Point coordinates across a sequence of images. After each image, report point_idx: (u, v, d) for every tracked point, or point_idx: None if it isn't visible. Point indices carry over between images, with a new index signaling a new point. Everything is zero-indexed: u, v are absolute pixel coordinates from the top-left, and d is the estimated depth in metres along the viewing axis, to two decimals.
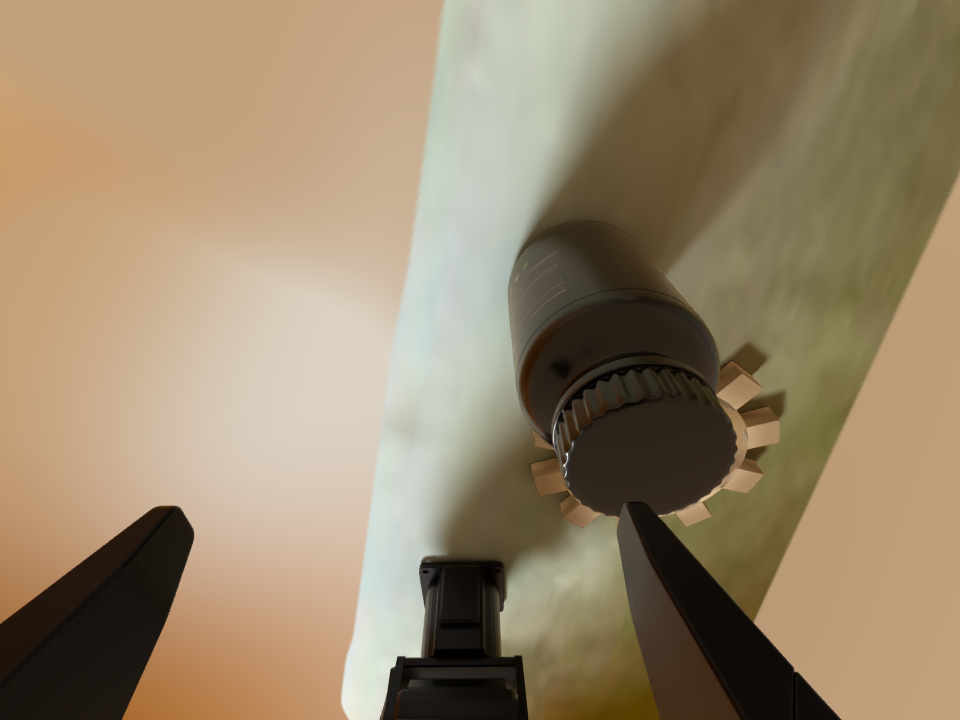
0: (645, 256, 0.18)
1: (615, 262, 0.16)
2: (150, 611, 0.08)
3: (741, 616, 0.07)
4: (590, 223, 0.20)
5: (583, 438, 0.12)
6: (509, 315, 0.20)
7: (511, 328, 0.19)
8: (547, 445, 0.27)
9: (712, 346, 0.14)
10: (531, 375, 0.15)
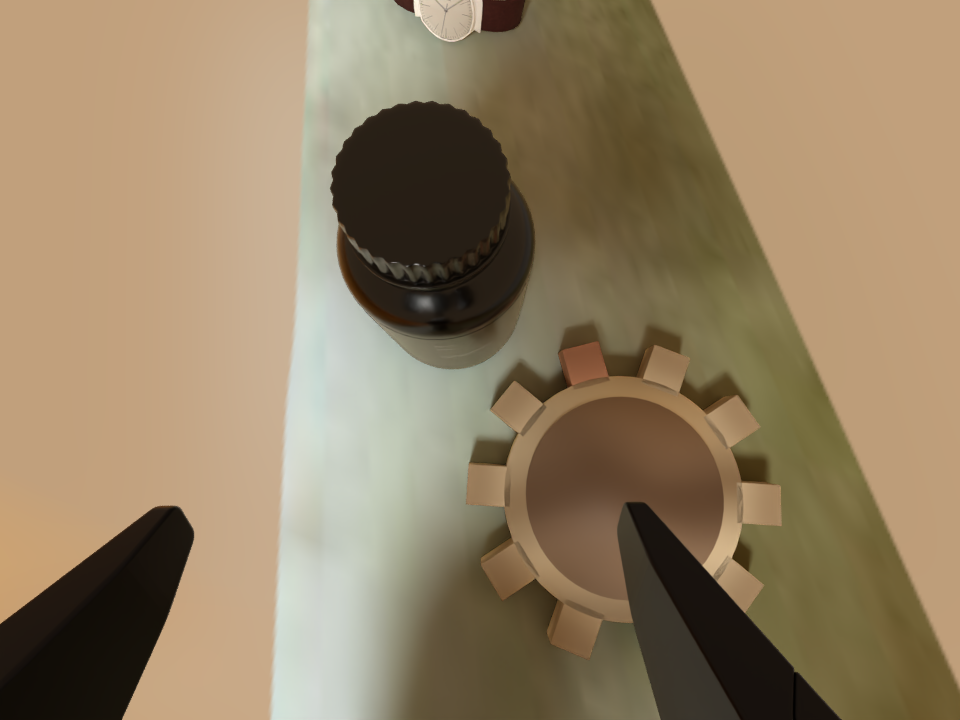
0: None
1: None
2: (150, 611, 0.08)
3: (741, 616, 0.07)
4: None
5: (341, 164, 0.12)
6: None
7: None
8: (481, 500, 0.21)
9: None
10: (339, 230, 0.15)
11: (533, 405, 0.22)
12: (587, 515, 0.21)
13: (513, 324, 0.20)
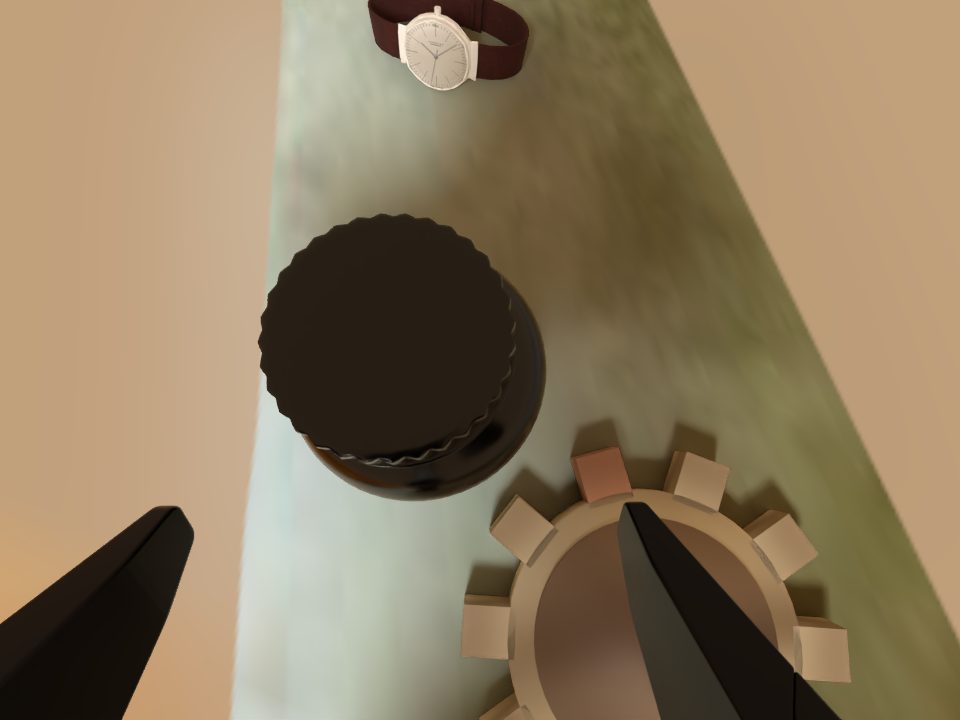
0: None
1: None
2: (150, 611, 0.08)
3: (741, 616, 0.07)
4: None
5: (274, 306, 0.08)
6: None
7: None
8: (479, 651, 0.17)
9: (495, 271, 0.12)
10: None
11: (542, 528, 0.18)
12: (610, 672, 0.17)
13: None
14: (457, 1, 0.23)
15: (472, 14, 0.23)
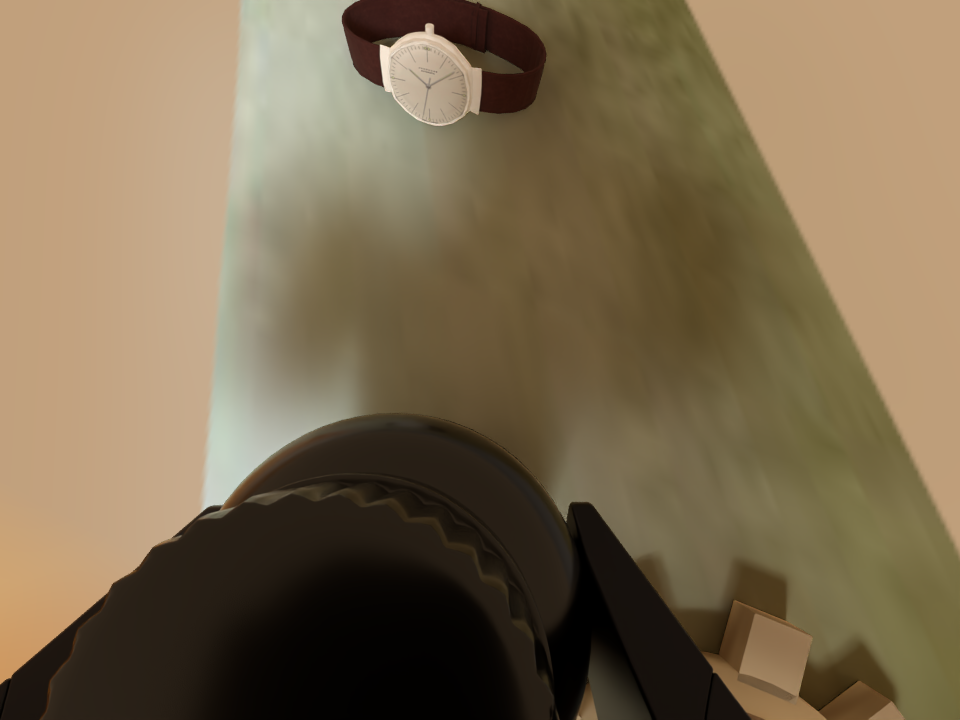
0: None
1: None
2: None
3: (668, 617, 0.07)
4: None
5: (58, 714, 0.04)
6: None
7: None
8: None
9: (511, 470, 0.07)
10: None
11: None
12: None
13: None
14: (455, 13, 0.18)
15: (474, 29, 0.18)
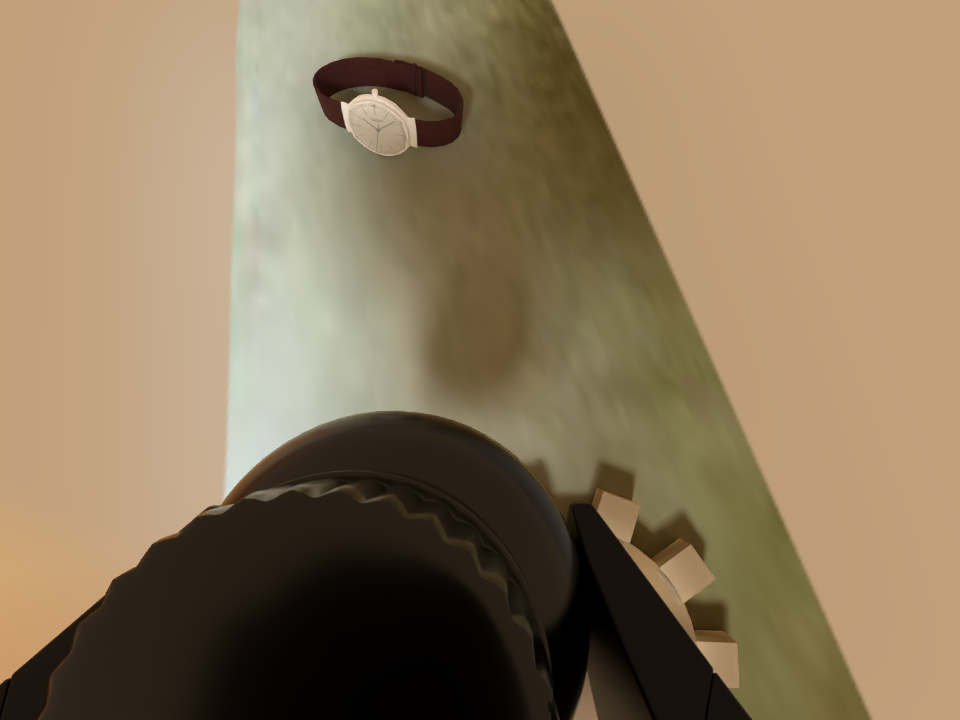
0: None
1: None
2: None
3: (668, 617, 0.07)
4: None
5: (59, 709, 0.04)
6: None
7: None
8: None
9: (510, 468, 0.07)
10: None
11: None
12: None
13: None
14: (398, 71, 0.24)
15: (413, 82, 0.24)
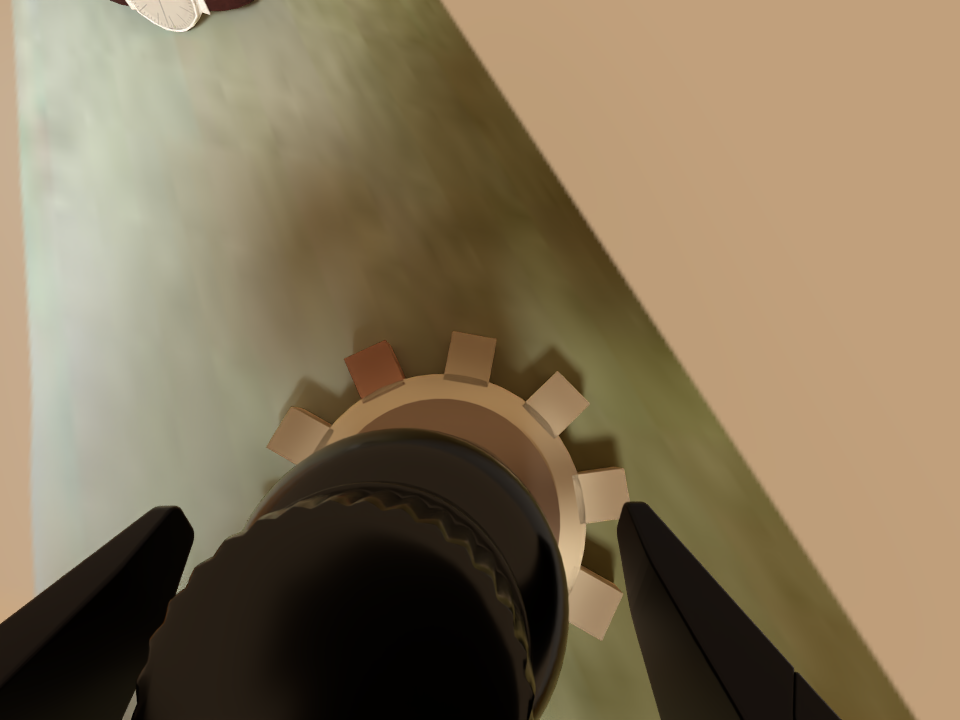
0: None
1: None
2: (150, 611, 0.08)
3: (741, 616, 0.07)
4: None
5: (157, 664, 0.05)
6: None
7: None
8: None
9: (501, 478, 0.09)
10: None
11: (317, 432, 0.18)
12: None
13: None
14: None
15: None
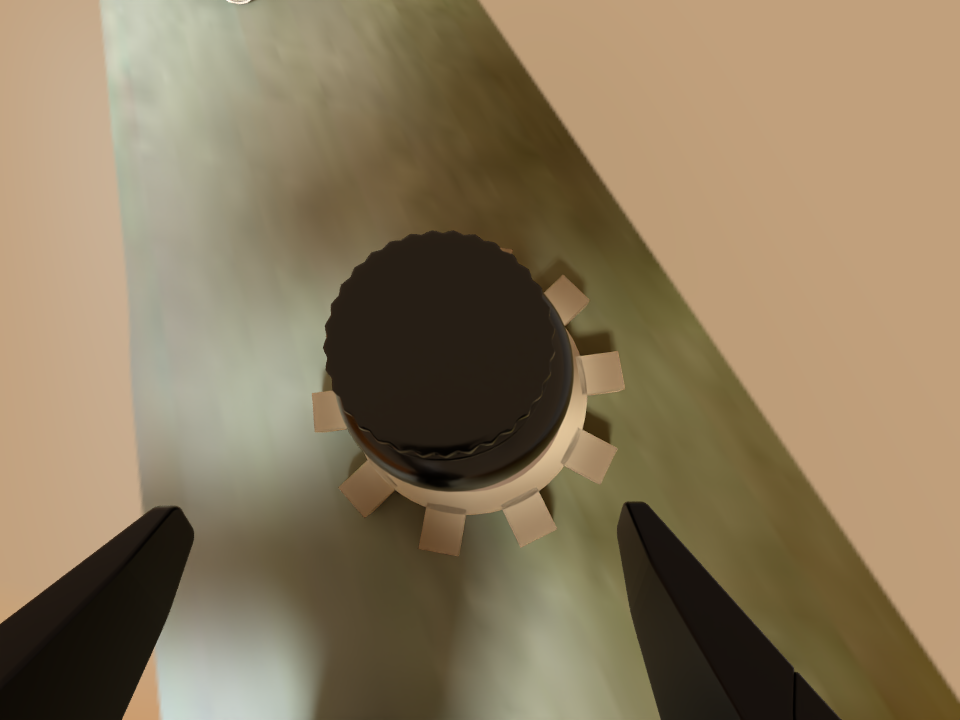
0: None
1: None
2: (150, 611, 0.08)
3: (741, 616, 0.07)
4: None
5: (337, 315, 0.09)
6: None
7: None
8: (329, 425, 0.21)
9: None
10: None
11: None
12: None
13: None
14: None
15: None
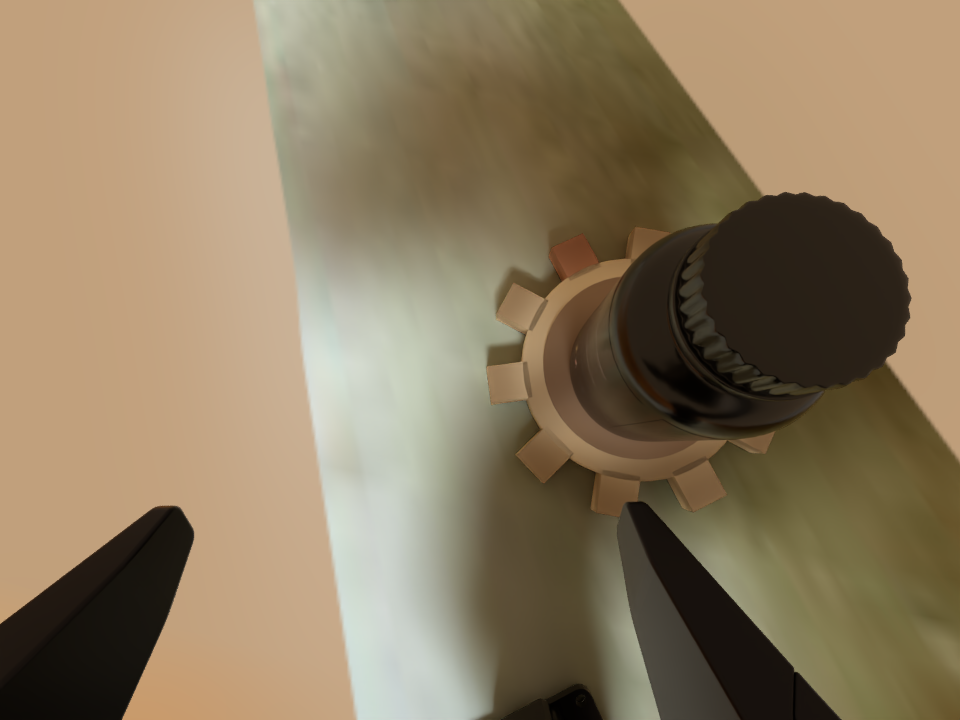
0: None
1: None
2: (150, 611, 0.08)
3: (741, 616, 0.07)
4: None
5: (712, 265, 0.11)
6: (582, 380, 0.19)
7: (588, 370, 0.18)
8: (505, 396, 0.22)
9: None
10: (627, 319, 0.14)
11: (535, 301, 0.23)
12: None
13: None
14: None
15: None
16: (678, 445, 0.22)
